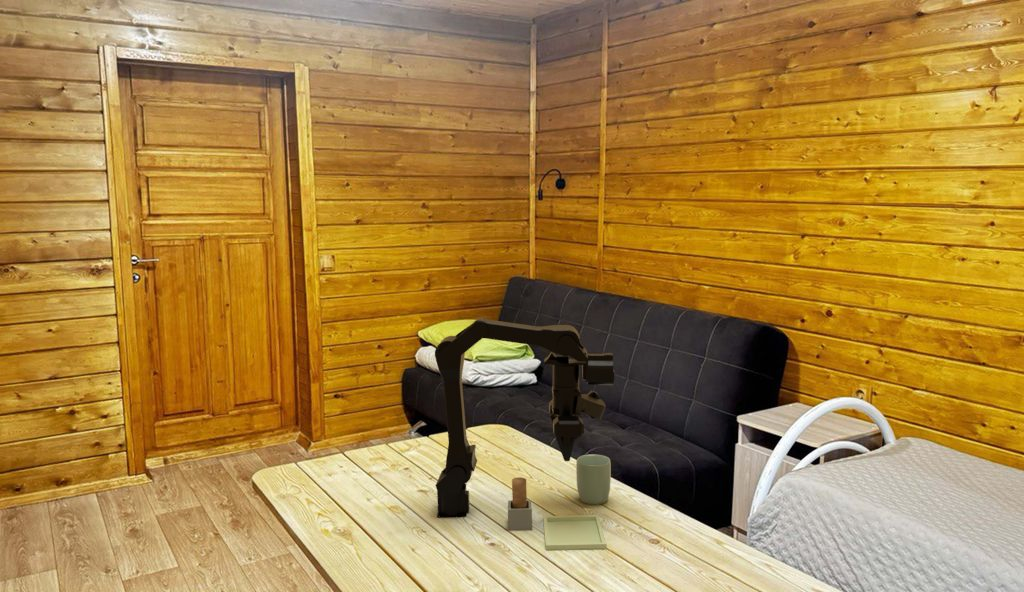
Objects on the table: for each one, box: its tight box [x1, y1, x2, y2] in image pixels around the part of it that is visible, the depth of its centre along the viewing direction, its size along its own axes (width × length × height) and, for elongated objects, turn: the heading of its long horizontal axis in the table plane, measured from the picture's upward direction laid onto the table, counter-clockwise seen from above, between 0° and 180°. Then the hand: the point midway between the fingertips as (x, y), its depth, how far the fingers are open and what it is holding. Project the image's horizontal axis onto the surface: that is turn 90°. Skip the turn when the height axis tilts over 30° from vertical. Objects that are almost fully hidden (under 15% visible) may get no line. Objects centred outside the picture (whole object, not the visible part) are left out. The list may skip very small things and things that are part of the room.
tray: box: [542, 514, 608, 551], centre depth 163 cm, size 12×14×2 cm
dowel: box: [511, 477, 528, 509], centre depth 167 cm, size 3×3×10 cm
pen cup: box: [507, 499, 533, 532], centre depth 168 cm, size 5×5×5 cm
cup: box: [575, 453, 612, 506], centre depth 180 cm, size 8×8×10 cm
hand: (565, 453), depth 172 cm, fingers open, 9 cm apart
